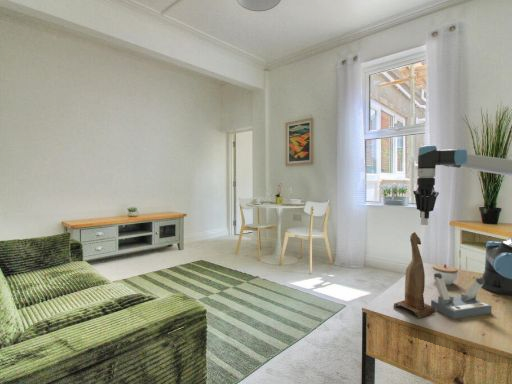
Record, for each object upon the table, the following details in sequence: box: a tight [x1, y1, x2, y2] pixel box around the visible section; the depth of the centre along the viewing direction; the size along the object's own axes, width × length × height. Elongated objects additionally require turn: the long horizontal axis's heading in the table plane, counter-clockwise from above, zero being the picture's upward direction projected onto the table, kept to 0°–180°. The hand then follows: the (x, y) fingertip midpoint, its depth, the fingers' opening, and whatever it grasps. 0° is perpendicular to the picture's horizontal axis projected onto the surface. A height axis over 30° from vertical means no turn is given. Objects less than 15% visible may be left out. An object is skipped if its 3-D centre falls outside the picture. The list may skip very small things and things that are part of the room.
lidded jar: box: [432, 264, 459, 286], centre depth 142 cm, size 11×11×9 cm
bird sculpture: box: [393, 231, 436, 320], centre depth 112 cm, size 11×12×32 cm
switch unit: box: [430, 292, 492, 320], centre depth 112 cm, size 10×19×6 cm, turn 105°
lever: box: [433, 273, 451, 303], centre depth 114 cm, size 3×4×12 cm
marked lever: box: [465, 276, 485, 299], centre depth 113 cm, size 3×4×12 cm
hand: (424, 224), depth 138 cm, fingers closed
